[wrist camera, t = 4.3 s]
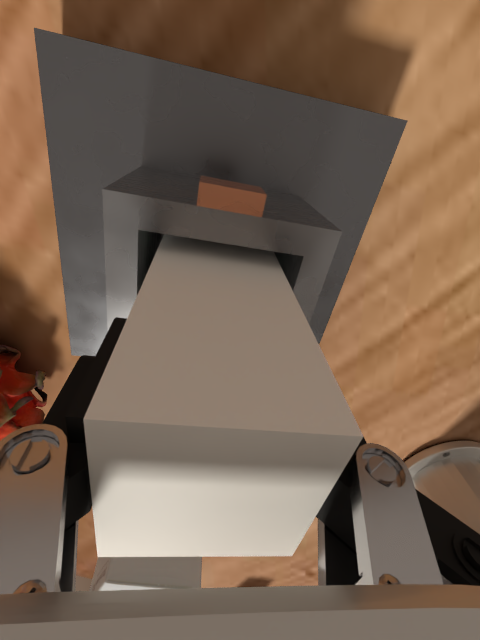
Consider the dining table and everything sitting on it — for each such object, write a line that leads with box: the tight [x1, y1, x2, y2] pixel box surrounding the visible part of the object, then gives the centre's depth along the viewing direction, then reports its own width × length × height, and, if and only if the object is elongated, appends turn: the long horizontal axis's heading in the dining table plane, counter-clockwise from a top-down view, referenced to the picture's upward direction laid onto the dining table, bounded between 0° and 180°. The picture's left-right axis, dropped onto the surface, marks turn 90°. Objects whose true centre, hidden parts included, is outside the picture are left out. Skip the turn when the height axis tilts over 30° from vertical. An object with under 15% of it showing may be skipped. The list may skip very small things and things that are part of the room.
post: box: [83, 234, 363, 557], centre depth 13 cm, size 5×5×15 cm
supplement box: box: [90, 557, 202, 591], centre depth 29 cm, size 7×7×13 cm
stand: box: [34, 28, 407, 356], centre depth 18 cm, size 18×18×10 cm
